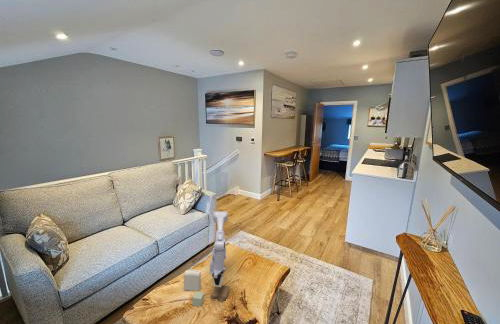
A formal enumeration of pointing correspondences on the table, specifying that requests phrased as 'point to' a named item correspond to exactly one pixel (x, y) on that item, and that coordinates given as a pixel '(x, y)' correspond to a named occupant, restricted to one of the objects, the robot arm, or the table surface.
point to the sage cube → (198, 298)
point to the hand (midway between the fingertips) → (218, 281)
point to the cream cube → (220, 281)
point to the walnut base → (220, 293)
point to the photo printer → (192, 280)
